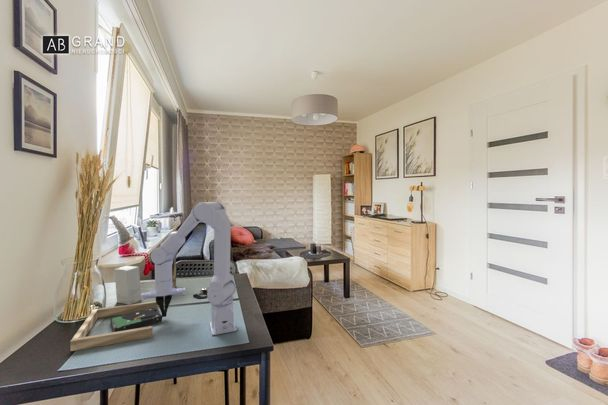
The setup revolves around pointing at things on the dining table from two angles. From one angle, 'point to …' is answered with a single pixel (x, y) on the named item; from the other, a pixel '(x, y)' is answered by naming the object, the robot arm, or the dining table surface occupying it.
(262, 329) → the dining table surface
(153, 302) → the bay
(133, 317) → the disk drive
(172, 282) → the coffee box
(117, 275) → the skincare box
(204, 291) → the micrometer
